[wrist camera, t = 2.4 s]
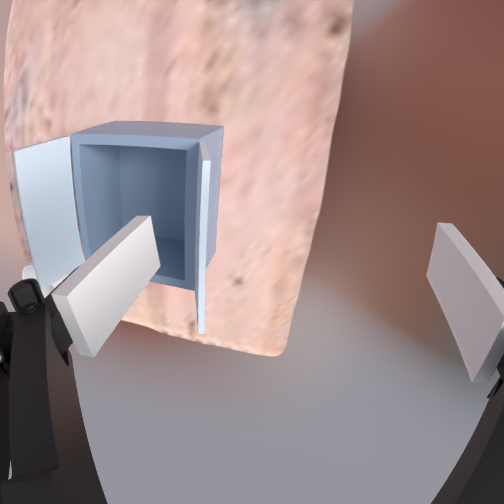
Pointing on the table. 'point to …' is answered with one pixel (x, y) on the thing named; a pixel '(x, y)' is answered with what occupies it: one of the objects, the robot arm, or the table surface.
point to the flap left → (49, 208)
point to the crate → (147, 188)
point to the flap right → (201, 232)
